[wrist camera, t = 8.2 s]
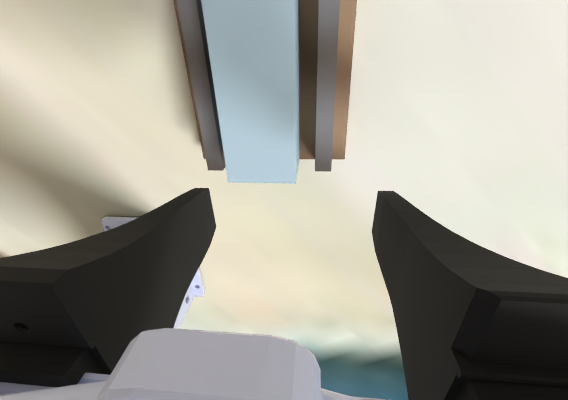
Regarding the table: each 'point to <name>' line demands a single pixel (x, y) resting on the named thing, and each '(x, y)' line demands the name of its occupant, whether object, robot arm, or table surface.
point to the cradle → (312, 78)
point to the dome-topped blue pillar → (256, 86)
